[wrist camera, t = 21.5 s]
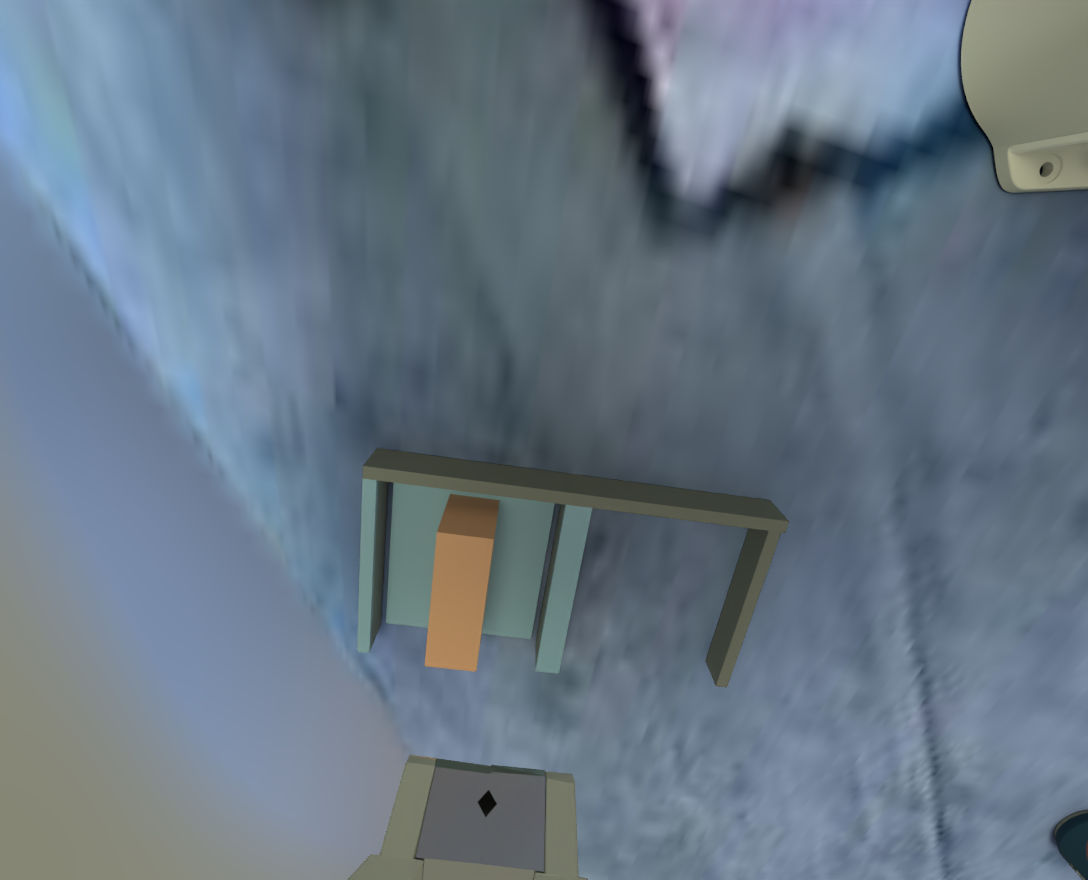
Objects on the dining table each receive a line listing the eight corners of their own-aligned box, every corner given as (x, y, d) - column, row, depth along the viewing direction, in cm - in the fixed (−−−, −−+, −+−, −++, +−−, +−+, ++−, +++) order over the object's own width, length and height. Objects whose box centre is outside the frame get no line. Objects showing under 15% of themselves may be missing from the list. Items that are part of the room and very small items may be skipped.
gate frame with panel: (770, 500, 43) (789, 521, 40) (716, 661, 49) (728, 691, 46) (376, 448, 41) (363, 466, 38) (369, 623, 47) (357, 651, 44)
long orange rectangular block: (499, 500, 43) (493, 539, 37) (483, 620, 47) (476, 671, 41) (450, 493, 42) (436, 532, 37) (438, 614, 46) (424, 665, 41)
